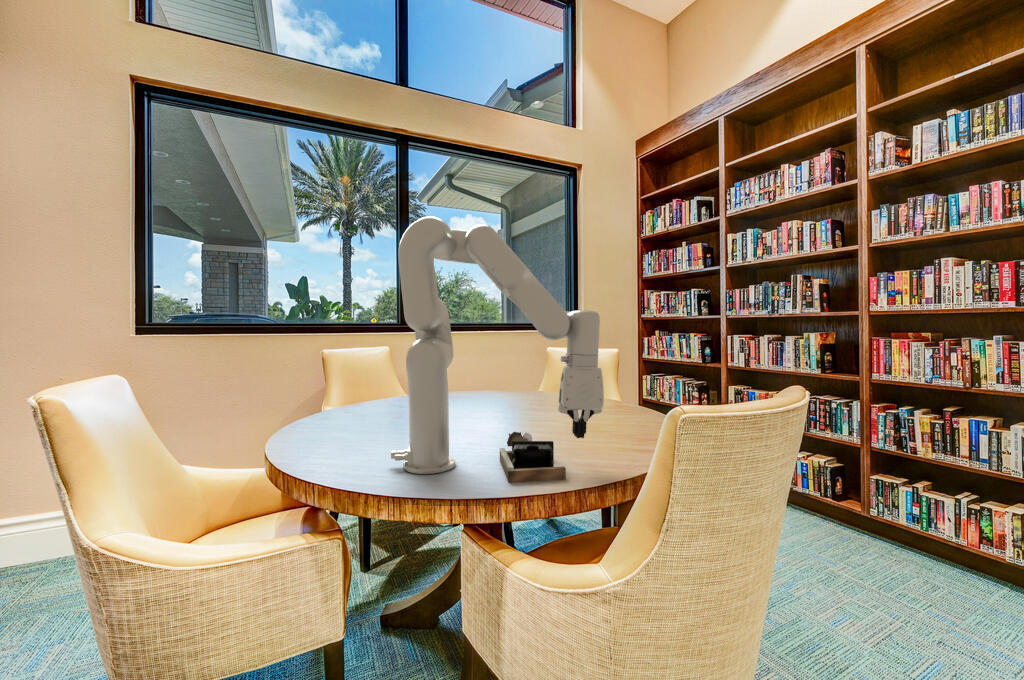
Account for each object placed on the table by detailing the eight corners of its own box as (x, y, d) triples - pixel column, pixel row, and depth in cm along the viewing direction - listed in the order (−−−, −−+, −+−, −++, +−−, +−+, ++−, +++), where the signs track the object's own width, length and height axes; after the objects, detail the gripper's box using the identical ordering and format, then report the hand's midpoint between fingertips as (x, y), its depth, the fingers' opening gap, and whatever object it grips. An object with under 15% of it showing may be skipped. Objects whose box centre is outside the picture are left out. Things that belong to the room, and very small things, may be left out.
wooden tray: (508, 482, 97) (508, 467, 97) (499, 461, 113) (499, 448, 112) (565, 479, 99) (565, 464, 99) (549, 458, 115) (549, 445, 114)
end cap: (553, 465, 109) (553, 438, 109) (554, 475, 102) (554, 446, 102) (512, 464, 110) (512, 437, 110) (511, 474, 103) (510, 445, 102)
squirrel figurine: (500, 446, 122) (500, 449, 114) (514, 424, 123) (515, 425, 114) (523, 461, 122) (525, 465, 113) (537, 439, 123) (540, 441, 114)
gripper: (555, 362, 102) (552, 441, 103) (617, 363, 104) (614, 440, 105) (548, 359, 110) (545, 433, 110) (606, 360, 112) (602, 432, 113)
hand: (578, 436), depth 108 cm, fingers closed
